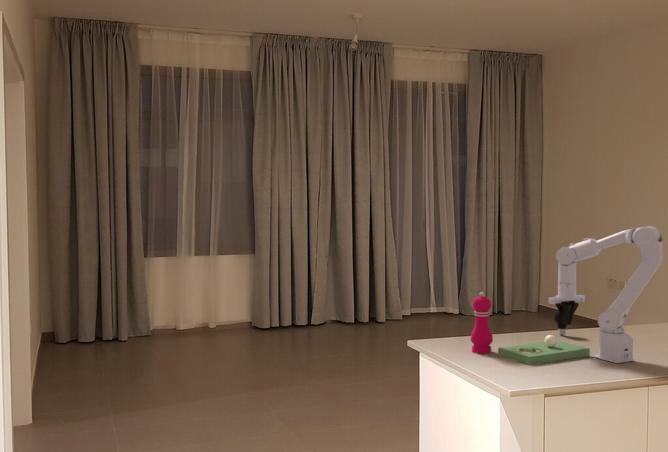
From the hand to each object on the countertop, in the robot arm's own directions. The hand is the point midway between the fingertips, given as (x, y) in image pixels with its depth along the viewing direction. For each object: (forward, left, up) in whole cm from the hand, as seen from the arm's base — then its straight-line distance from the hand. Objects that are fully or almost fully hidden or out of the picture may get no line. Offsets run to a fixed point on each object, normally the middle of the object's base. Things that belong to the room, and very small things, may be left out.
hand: (566, 324), depth 220 cm
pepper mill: (+14, +24, -10) cm, 29 cm away
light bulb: (+21, -20, -10) cm, 31 cm away
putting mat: (0, +10, -9) cm, 14 cm away
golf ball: (0, +7, -5) cm, 9 cm away
